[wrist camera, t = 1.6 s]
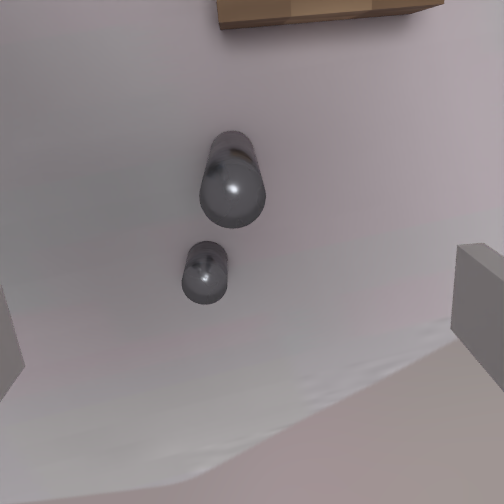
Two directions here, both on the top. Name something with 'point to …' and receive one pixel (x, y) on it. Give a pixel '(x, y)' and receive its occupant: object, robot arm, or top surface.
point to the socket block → (310, 11)
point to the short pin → (205, 273)
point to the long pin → (232, 182)
